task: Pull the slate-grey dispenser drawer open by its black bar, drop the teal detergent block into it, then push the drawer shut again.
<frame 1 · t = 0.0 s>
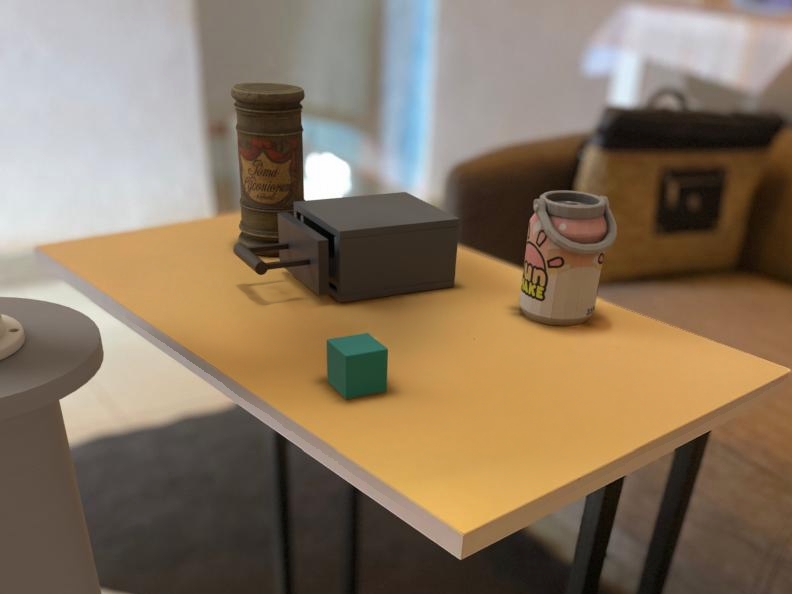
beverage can: (557, 317, 91), on the table
tray: (327, 249, 94), point 4 cm above the table, slide at 1.0 cm
container: (274, 247, 107), on the table
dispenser: (373, 277, 98), on the table
detergent block: (356, 386, 74), on the table
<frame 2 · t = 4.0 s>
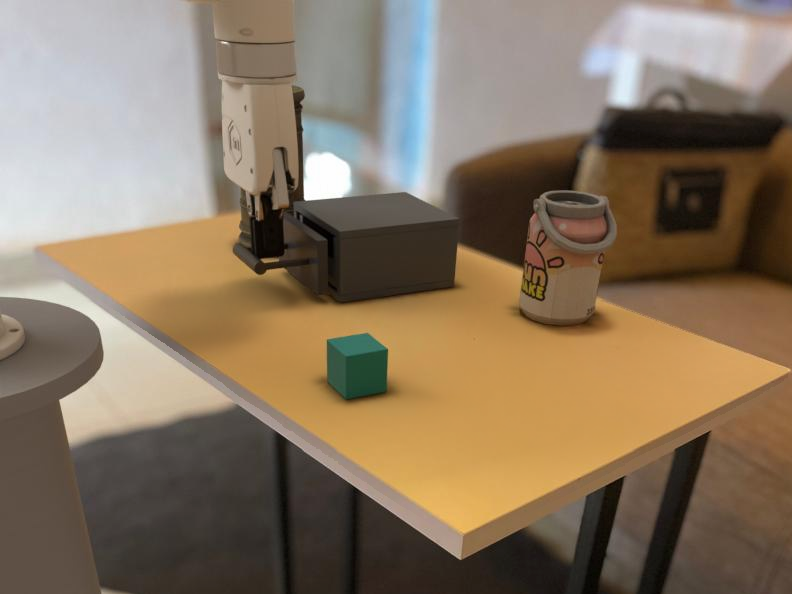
hand: (268, 255, 91), 4 cm above the table, tool pointing down, fingers closed
tray: (327, 249, 94), point 4 cm above the table, slide at 1.1 cm, touching gripper
everything else where it was.
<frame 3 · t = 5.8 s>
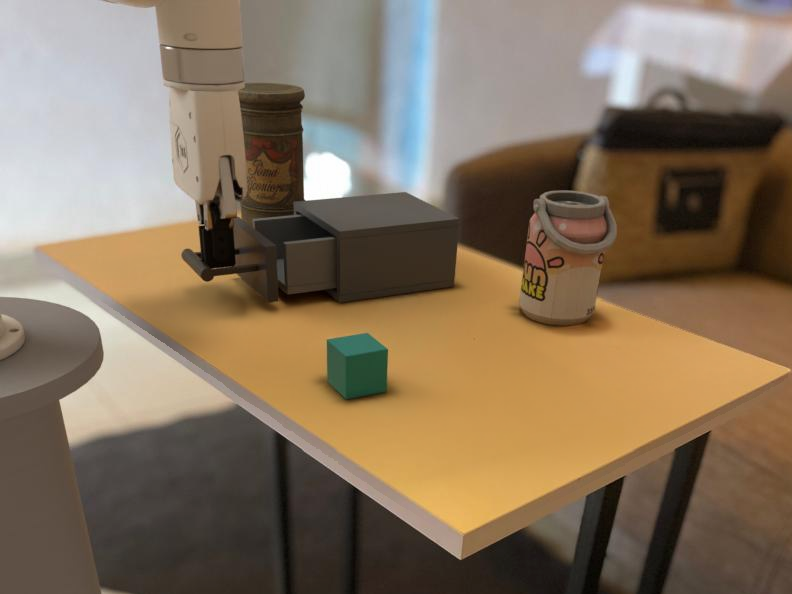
hand: (218, 265, 89), 4 cm above the table, tool pointing down, fingers closed
tray: (279, 255, 91), point 4 cm above the table, slide at 6.8 cm
everything else where it was.
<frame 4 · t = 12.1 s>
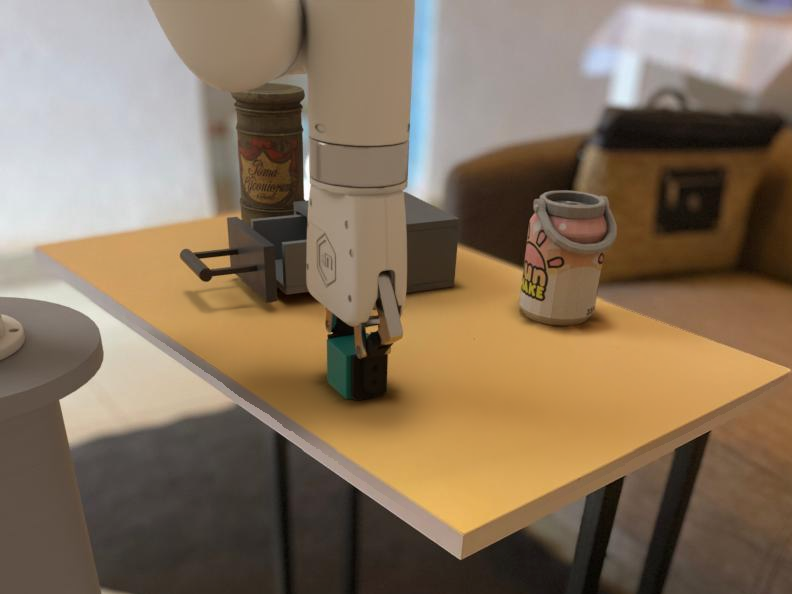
hand: (356, 383, 74), 0 cm above the table, tool pointing down, fingers closed on detergent block, 4 cm apart
detergent block: (356, 386, 74), on the table, touching gripper
everything else where it was.
when the fingers open (7 cm above the table, at t = 17.6 s): detergent block drops 5 cm, resting on tray.
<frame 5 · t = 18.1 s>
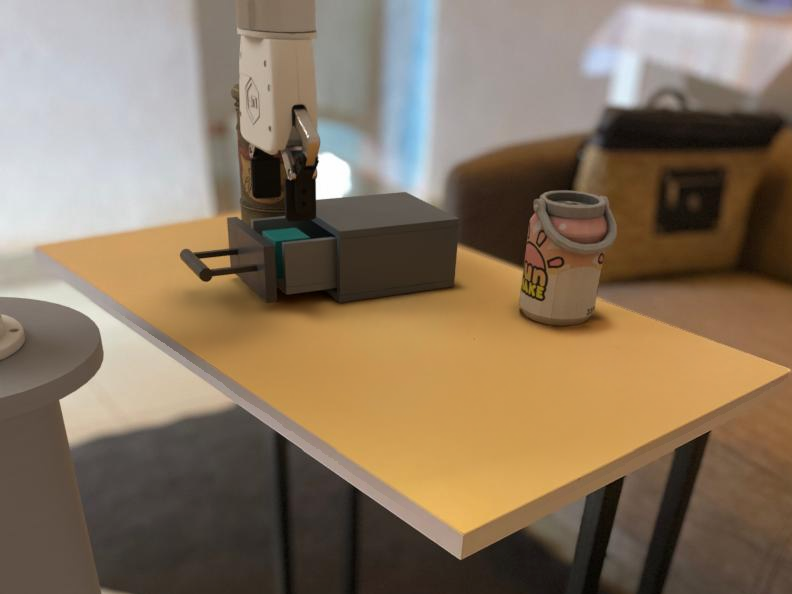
hand: (283, 208, 89), 9 cm above the table, tool pointing down, fingers open, 9 cm apart
tray: (278, 255, 91), point 4 cm above the table, slide at 7.0 cm, touching detergent block
detergent block: (287, 270, 93), point 2 cm above the table, touching tray
everything else where it was.
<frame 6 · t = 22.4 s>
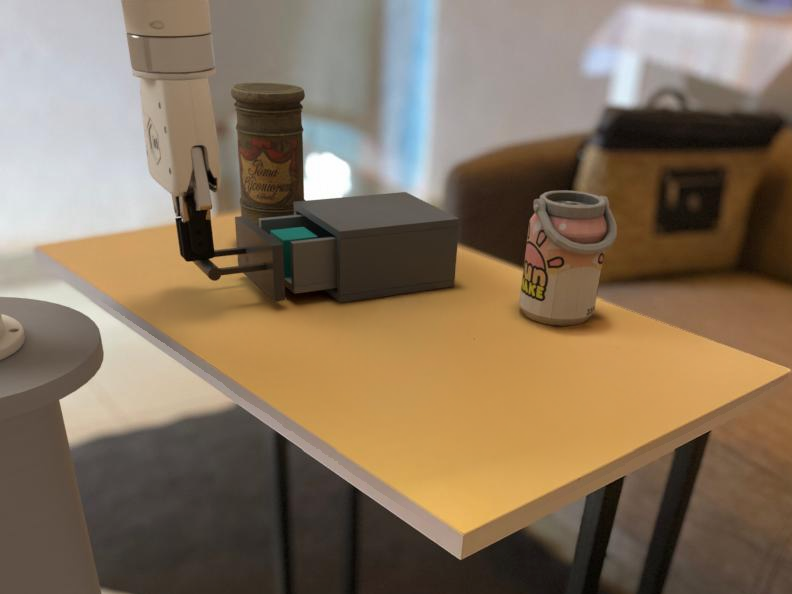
hand: (197, 257, 87), 5 cm above the table, tool pointing down, fingers closed
tray: (285, 254, 92), point 4 cm above the table, slide at 6.0 cm, touching detergent block, gripper
everything else where it was.
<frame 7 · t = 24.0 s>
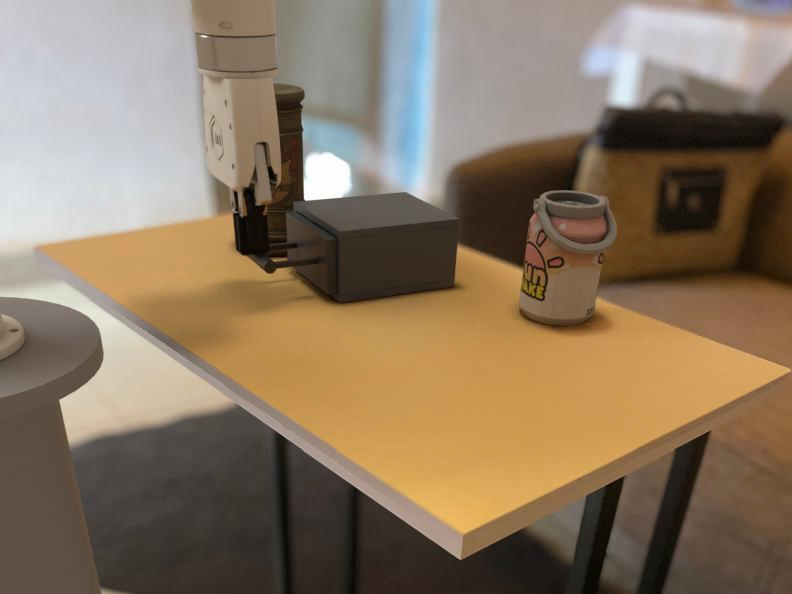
hand: (252, 251, 90), 4 cm above the table, tool pointing down, fingers closed
tray: (336, 248, 94), point 4 cm above the table, slide at 0.0 cm, touching detergent block, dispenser, gripper
detergent block: (344, 263, 96), point 2 cm above the table, touching tray
everything else where it was.
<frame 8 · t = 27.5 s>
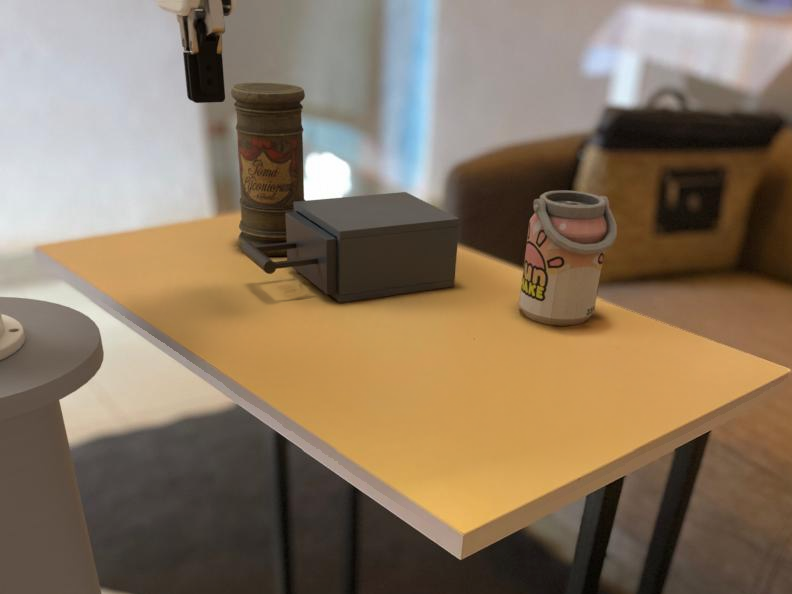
hand: (206, 100, 80), 19 cm above the table, tool pointing down, fingers closed
tray: (335, 248, 94), point 4 cm above the table, slide at 0.1 cm, touching detergent block
everything else where it was.
at the end: tray pulled out 7.0 cm at the most during the clip, back to where it started at the end; detergent block inside the target area in the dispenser (3.4 cm from its centre), point 2.0 cm above the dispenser's base; tray slide at 0.1 cm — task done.
